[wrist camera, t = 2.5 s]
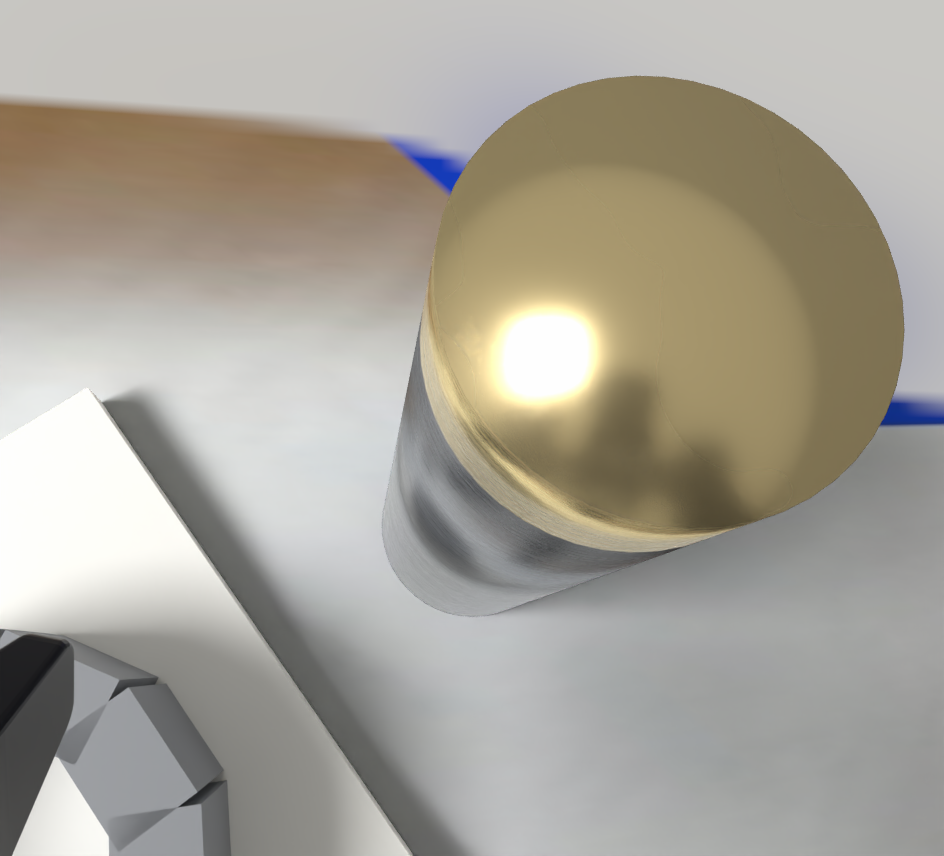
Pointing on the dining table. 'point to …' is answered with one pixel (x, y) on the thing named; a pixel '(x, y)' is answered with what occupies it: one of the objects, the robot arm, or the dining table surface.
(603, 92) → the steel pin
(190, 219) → the dining table surface
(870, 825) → the dining table surface
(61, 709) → the robot arm
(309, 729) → the socket plate
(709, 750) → the dining table surface
